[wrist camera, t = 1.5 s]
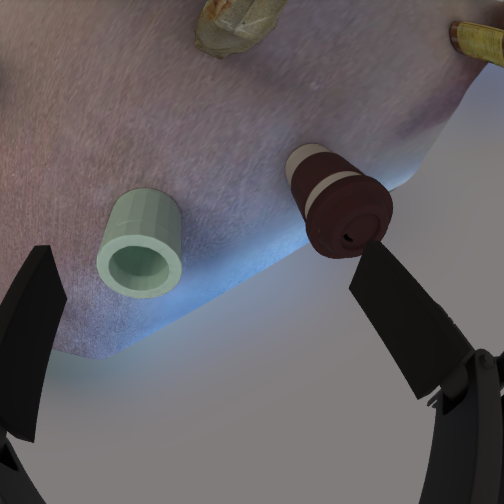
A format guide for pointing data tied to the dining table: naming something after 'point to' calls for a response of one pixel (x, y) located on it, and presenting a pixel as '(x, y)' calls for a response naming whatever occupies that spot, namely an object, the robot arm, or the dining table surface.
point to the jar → (142, 245)
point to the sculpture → (235, 25)
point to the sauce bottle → (479, 41)
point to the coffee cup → (337, 202)
